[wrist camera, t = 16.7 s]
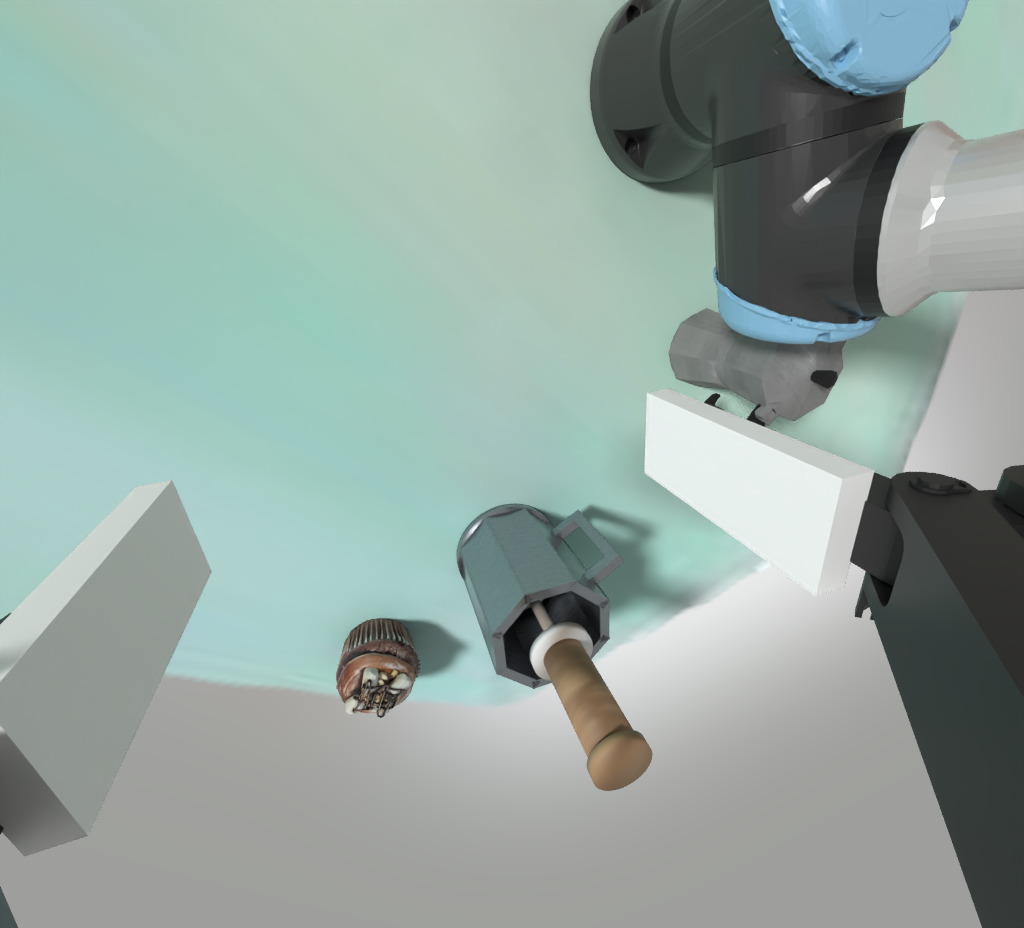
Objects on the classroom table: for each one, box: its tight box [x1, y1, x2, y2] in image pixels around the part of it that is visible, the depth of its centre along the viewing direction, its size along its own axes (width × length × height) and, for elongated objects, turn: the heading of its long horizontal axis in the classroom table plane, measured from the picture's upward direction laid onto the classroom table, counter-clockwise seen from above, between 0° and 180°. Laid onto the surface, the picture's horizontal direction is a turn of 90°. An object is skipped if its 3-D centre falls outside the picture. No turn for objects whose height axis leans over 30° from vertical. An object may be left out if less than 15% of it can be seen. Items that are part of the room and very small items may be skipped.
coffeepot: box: [669, 309, 846, 427], centre depth 49 cm, size 15×9×18 cm, turn 138°
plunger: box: [525, 598, 652, 791], centre depth 44 cm, size 8×8×23 cm
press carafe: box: [457, 504, 624, 689], centre depth 53 cm, size 16×13×16 cm
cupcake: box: [336, 618, 421, 718], centre depth 55 cm, size 10×10×10 cm
